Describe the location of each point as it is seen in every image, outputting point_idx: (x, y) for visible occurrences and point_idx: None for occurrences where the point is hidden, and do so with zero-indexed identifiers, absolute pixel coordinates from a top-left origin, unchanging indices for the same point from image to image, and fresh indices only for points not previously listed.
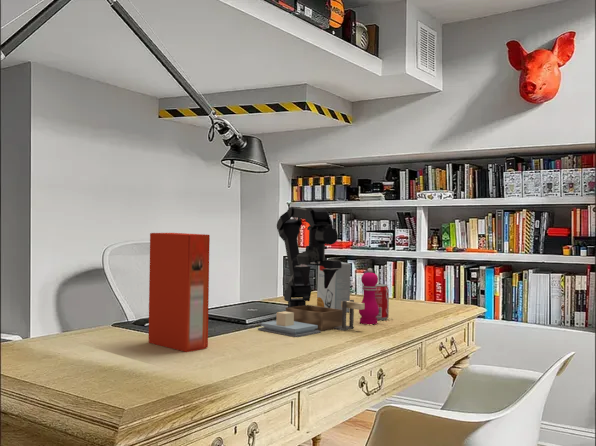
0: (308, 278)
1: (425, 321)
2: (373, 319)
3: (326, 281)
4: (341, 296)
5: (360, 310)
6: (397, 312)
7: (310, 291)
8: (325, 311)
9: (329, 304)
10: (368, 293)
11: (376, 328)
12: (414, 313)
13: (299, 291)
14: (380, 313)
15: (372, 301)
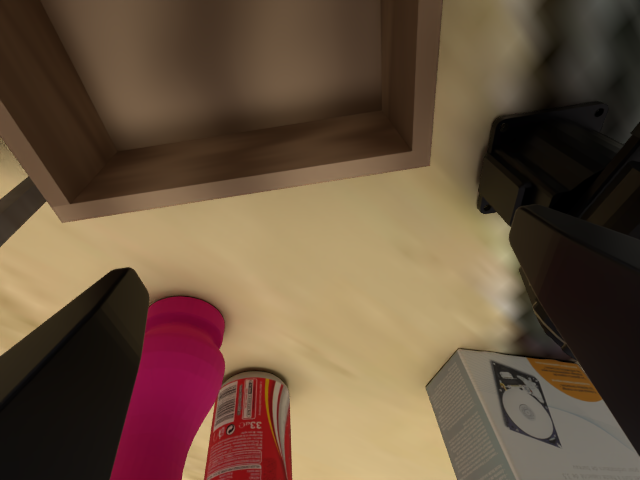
0: (575, 351)
1: None
2: None
3: (5, 362)
4: (468, 432)
5: (173, 345)
6: (324, 459)
7: (533, 306)
8: (227, 167)
9: (504, 377)
10: (114, 466)
11: (37, 277)
12: None
13: (615, 220)
14: (218, 403)
15: None
